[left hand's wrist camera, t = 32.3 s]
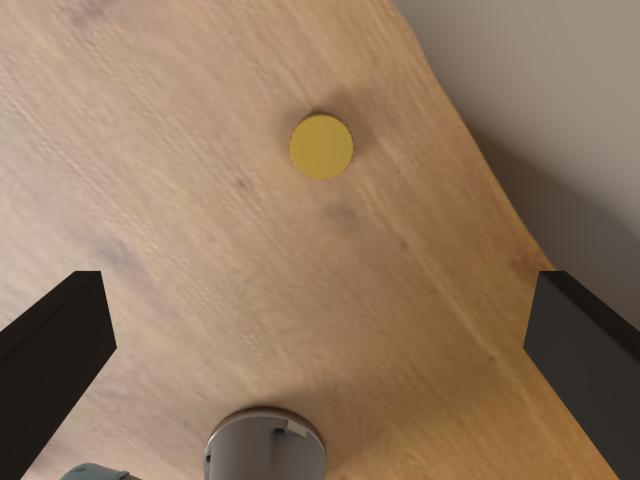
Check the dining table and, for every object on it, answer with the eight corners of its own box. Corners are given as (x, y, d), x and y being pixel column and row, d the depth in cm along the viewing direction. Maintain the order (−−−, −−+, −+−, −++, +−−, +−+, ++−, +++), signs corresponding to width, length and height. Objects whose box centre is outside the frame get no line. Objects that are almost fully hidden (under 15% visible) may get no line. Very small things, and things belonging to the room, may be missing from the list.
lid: (277, 141, 40) (275, 143, 39) (326, 99, 39) (326, 100, 37) (317, 188, 42) (316, 192, 40) (365, 149, 40) (366, 152, 39)
